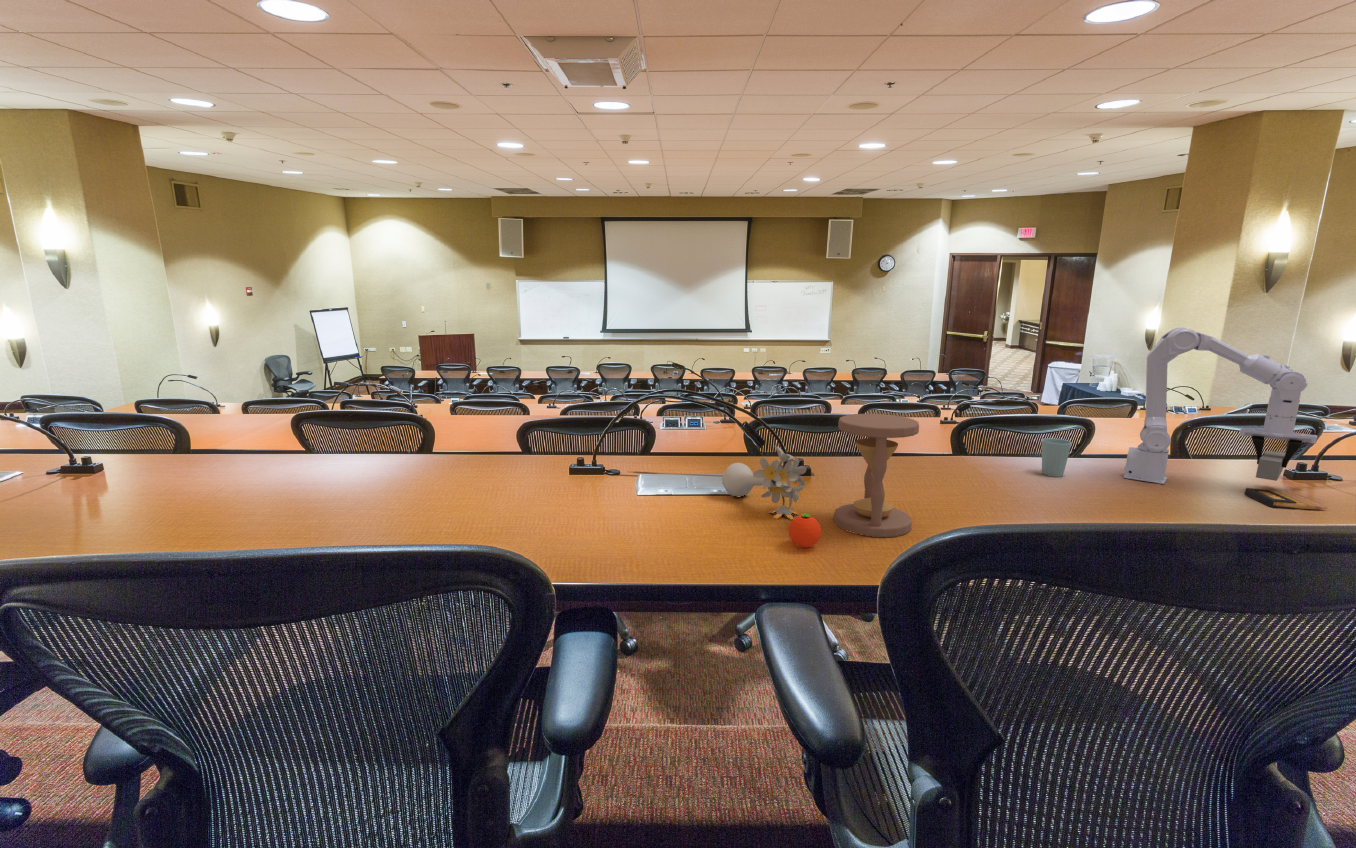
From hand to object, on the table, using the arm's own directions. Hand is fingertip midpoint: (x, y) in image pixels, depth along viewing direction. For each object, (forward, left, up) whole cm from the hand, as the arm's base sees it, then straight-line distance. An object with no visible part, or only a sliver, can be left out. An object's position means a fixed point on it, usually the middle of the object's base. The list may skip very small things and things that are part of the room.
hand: (1271, 465), depth 162 cm
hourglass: (-69, -93, -8) cm, 116 cm away
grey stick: (0, 0, -2) cm, 2 cm away
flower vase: (-96, -100, -8) cm, 139 cm away
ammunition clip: (-2, -10, -7) cm, 13 cm away
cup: (-47, -17, -8) cm, 51 cm away
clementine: (-74, -115, -8) cm, 137 cm away
